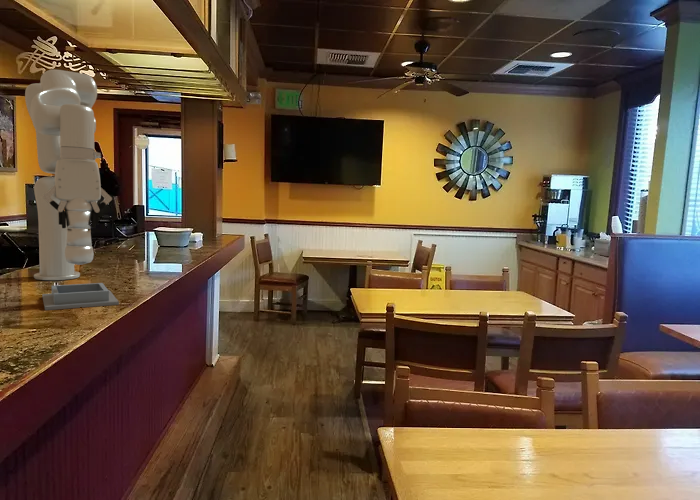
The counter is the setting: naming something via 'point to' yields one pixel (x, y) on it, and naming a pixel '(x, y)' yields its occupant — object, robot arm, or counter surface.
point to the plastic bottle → (78, 231)
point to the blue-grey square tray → (78, 296)
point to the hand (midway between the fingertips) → (78, 227)
